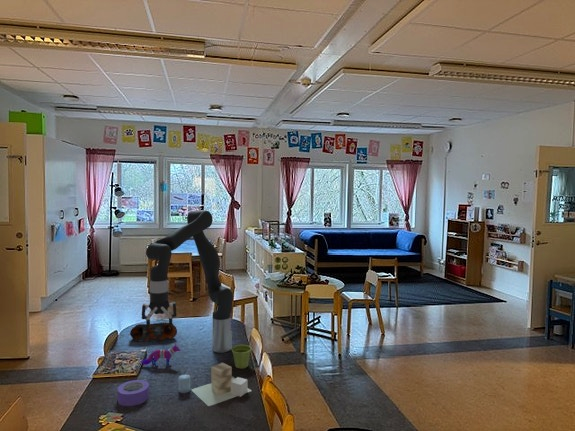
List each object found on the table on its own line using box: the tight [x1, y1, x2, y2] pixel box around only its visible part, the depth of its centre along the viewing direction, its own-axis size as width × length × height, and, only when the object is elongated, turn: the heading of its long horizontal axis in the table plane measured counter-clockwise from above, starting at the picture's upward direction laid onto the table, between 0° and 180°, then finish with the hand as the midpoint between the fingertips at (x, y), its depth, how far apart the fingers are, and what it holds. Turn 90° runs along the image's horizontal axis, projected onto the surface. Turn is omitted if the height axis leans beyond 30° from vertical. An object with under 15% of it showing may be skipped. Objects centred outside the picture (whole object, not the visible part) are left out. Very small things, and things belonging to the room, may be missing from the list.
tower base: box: [211, 379, 231, 395], centre depth 171 cm, size 6×6×5 cm
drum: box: [178, 374, 192, 394], centre depth 170 cm, size 5×5×6 cm
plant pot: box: [230, 344, 252, 369], centre depth 194 cm, size 9×9×9 cm
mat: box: [190, 375, 252, 407], centre depth 171 cm, size 20×16×1 cm
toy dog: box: [141, 342, 181, 368], centre depth 194 cm, size 4×18×10 cm, turn 97°
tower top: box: [210, 362, 233, 384], centre depth 170 cm, size 6×6×5 cm
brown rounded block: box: [129, 322, 178, 343], centre depth 232 cm, size 25×13×17 cm
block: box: [231, 376, 249, 398], centre depth 169 cm, size 5×5×5 cm
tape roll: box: [117, 379, 150, 407], centre depth 164 cm, size 12×12×5 cm
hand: (159, 327), depth 176 cm, fingers open, 8 cm apart
